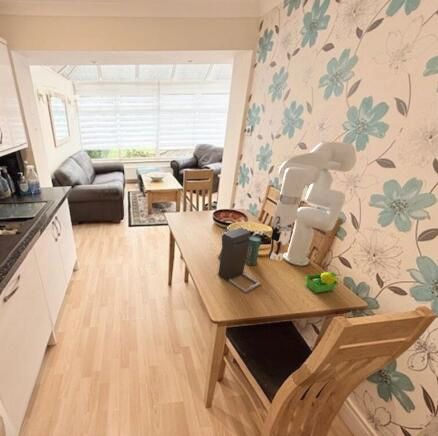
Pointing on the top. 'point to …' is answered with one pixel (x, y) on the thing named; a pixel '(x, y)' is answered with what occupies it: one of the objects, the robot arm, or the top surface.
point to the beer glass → (280, 244)
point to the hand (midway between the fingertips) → (280, 237)
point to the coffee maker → (235, 256)
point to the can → (253, 250)
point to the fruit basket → (321, 282)
